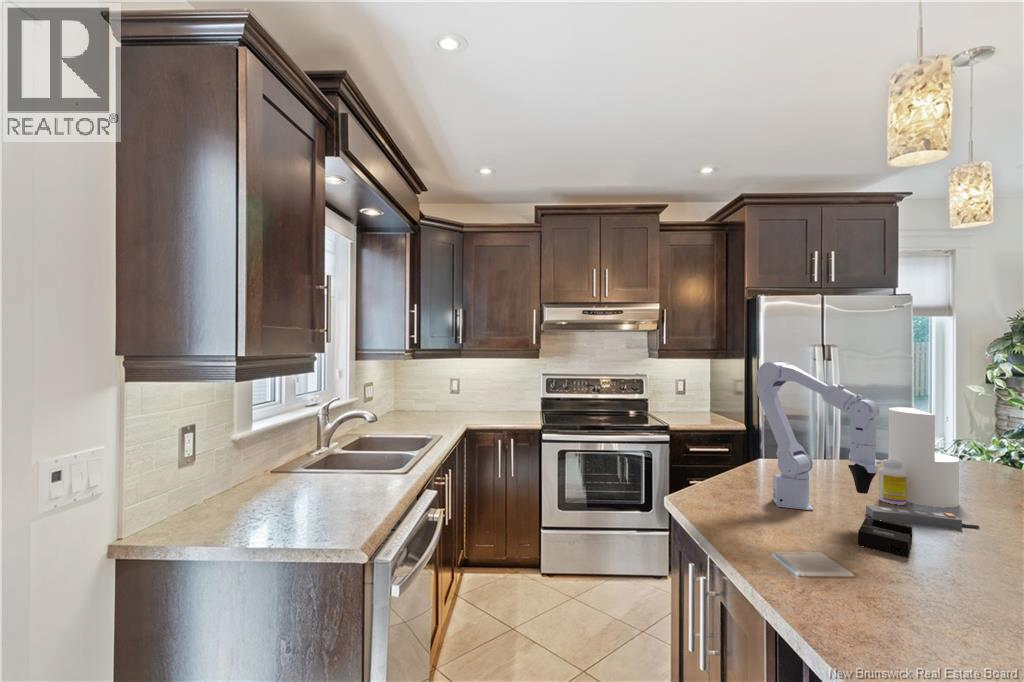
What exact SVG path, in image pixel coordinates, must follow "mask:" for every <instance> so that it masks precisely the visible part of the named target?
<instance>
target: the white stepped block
mask: <svg viewBox="0 0 1024 682" xmlns="http://www.w3.org/2000/svg"><path fill="white" fill-rule="evenodd" d="M887 439H888V441H887V442H888V443H887V444H888V446H887V447H888V450H887V451H888V452H887V459H889V460H897V461H900V462H902V467H901V469H902V470H903V471H904V472H905V473H906V501H909V502H908V503H910V502H912V503H911V504H915V503H916V504H915V505H920V506H925V505H926V506H925V507H927V506H928V507H932V506H933V507H934V508H943V507H951V508H957V507H959V505H960V458H958V457H956V456H952V455H948V454H945V453H939V452H936V415H935V414H933V413H930V412H927V411H923V410H920V409H917V408H914V407H889V408H888V438H887Z"/></svg>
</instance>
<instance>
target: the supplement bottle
mask: <svg viewBox="0 0 1024 682" xmlns="http://www.w3.org/2000/svg"><path fill="white" fill-rule="evenodd" d="M882 464H883V467H881V468H879V470H878V476H879V477H878V499H879V500H880V501H881V502H883V503H885V502H886V503H885V504H888V503H890V505H894V504H897V506H904V505H906V503H907V502H906V473H905V472H904V471H903V470H902V469H901V467H902V462H900V461H897V460H889V459H888V458H887V459H883V460H882Z"/></svg>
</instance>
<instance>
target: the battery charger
mask: <svg viewBox="0 0 1024 682" xmlns="http://www.w3.org/2000/svg"><path fill="white" fill-rule="evenodd" d="M857 532H858V533H857V546H858V545H859V546H858V547H861V546H864V547H863V548H865V547H867V548H866V549H869V548H870V550H873V549H875V550H874V551H877V550H878V551H877V552H882V553H886V554H888V555H895V556H899V557H901V558H902V557H903V558H906V559H909V556H910V552H911V547H912V543H913V526H909V525H904V524H899V523H896V522H888V521H880V520H875V519H872V518H870V517H865V518H864V520H863V521H862V523H861V525H860V527H859V529H858V531H857Z"/></svg>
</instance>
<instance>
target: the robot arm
mask: <svg viewBox="0 0 1024 682" xmlns="http://www.w3.org/2000/svg"><path fill="white" fill-rule="evenodd" d="M756 376H757V385H756V394H757V396H758V399H759V402H760V404H761V407H762V409H763V412H764V414H765V417H766V420H767V421H768V424H769V427H770V429H771V432H772V434H773V437H774V439H775V442H776V444H777V449H776V453H775V454H776V457H777V468H778V470H779V472H780V473H781V474H773V476H772V497H771V499H772V500H773V502H774V504H775V506H776V507H779V508H786V509H787V508H788V509H796V510H807V511H814V508H813V507H812V506H811V504H810V501H809V500H810V475H809V472H810V471H811V470H812V469H813V467H814V466H813V465H814V463H813V459H812V458H811V456H810V455H809V454H808V453H807V452H806V450H805V447H803V446H802V444H800V443H799V442H798V441H797V439H796V437H795V434H794V432H793V429H792V426H791V424H790V422H789V419H788V417H787V414H786V412H785V409H784V407H783V405H782V403H781V400H780V398H779V395H778V393H779V391H780V389H781V388H782V386H783V385H784V384H785V383H786V382H795V383H797V384H798V385H801V386H803V387H805V388H807V389H809V390H811V391H813V392H815V393H817V394H820V395H821V398H822V401H823V402H825V403H827V404H829V405H831V406H833V407H835V408H836V409H838V410H840V411H842V412H843V413H847V416H848V417H849V418H850V430H849V431H850V433H849V437H850V438H849V439H850V440H849V453H848V461H849V462H851V463H854V464H848V465H847V467H848V469H849V470H850V472H851V475H852V479H853V482H854V486H855V491H856V492H857V493H858V494H863V495H866V494H868V492H869V489H870V487H871V485H872V484H871V483H872V481H873V479H874V478H875V476H876V475H877V474H878V472H879V470H878V469H879V467H878V465H881V464H882V461H881V460H879V459H877V458H876V456H877V419H876V418H878V416H879V415H880V411H881V409H880V406H879V405H878V404H877V403H876V402H875V401H874V400H873V399H872V398H863V395H861V394H855V393H854V392H852V391H850V390H848V389H846V387H845V385H843V384H836V383H832V384H827V383H825V382H823V381H821V379H818V378H816V377H815V376H813V375H811V374H810V373H807V372H806V371H804V370H803V369H801V368H799V367H797V366H796V365H793V364H790V363H788V362H786V361H777V362H776V361H774V362H772V361H766V362H763V363H762V364H761V365H760V366H759V368H758V370H757V371H756Z"/></svg>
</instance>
